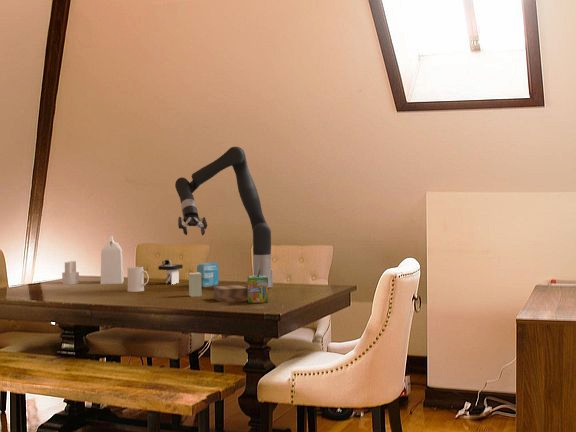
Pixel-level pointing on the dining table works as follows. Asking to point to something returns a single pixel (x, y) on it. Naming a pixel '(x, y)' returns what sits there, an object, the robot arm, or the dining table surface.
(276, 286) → the dining table surface
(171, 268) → the black-topped pedestal
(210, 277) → the data package
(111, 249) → the milk
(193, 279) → the tea tin
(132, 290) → the mug
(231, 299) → the walnut block
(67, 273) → the cylinder with rectangular tab
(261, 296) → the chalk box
